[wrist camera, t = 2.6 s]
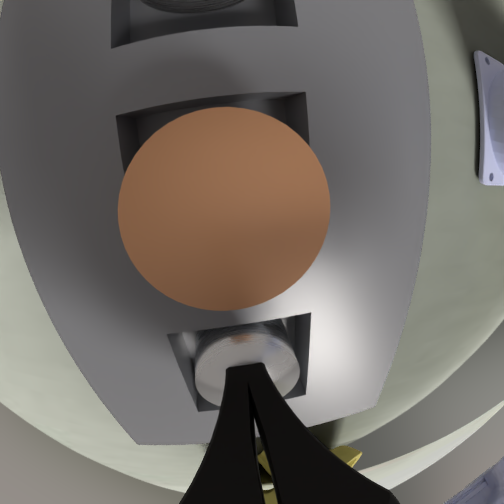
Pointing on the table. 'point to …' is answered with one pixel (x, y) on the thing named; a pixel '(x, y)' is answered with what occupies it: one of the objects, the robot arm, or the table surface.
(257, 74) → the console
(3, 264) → the table surface
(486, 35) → the table surface
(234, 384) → the robot arm
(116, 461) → the table surface
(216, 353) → the plunger
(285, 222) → the orange plunger
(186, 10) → the plunger
